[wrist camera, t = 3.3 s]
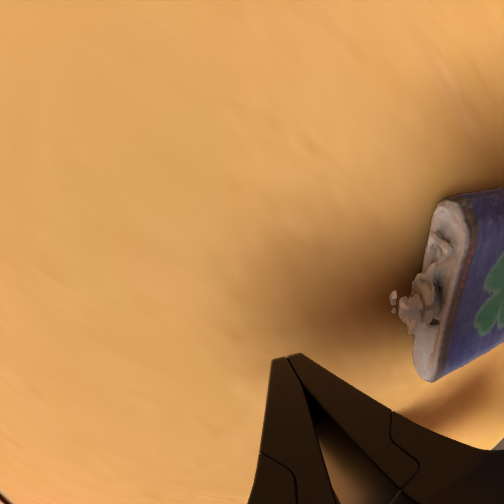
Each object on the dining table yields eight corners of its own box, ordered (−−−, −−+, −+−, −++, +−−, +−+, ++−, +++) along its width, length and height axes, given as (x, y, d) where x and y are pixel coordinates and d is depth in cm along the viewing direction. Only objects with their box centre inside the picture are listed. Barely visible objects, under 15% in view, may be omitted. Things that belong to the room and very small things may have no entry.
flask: (529, 334, 12) (397, 407, 12) (502, 311, 15) (372, 367, 14) (566, 188, 9) (435, 209, 8) (528, 173, 11) (385, 186, 10)
